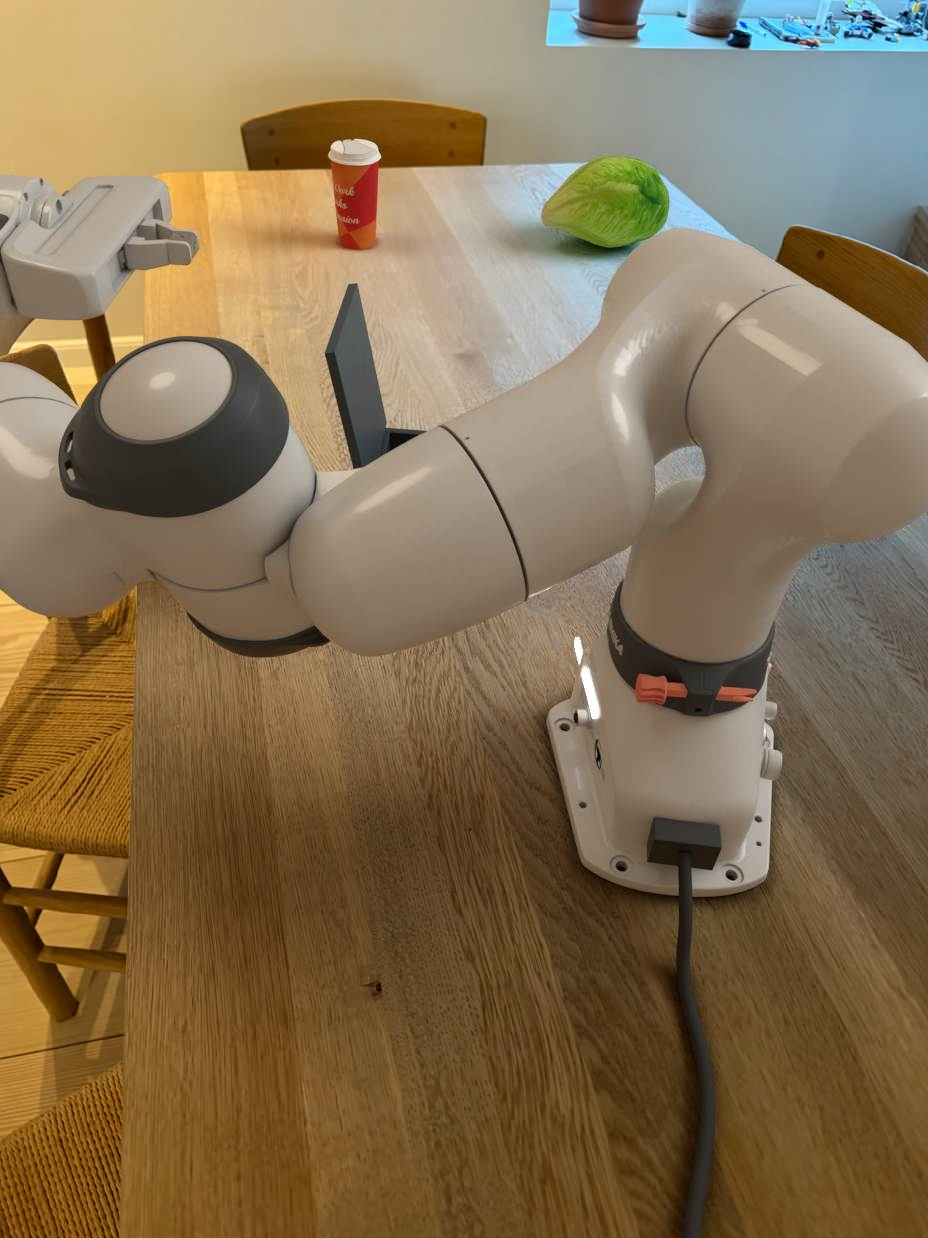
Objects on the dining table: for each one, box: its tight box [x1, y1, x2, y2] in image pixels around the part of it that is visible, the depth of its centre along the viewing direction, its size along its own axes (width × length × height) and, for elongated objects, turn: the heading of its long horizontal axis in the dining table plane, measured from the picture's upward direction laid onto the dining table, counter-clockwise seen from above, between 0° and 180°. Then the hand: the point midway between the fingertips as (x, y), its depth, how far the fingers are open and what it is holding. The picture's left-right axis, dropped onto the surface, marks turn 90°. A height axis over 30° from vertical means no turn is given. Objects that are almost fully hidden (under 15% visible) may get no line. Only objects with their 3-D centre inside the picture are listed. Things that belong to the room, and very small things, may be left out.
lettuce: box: [540, 155, 670, 249], centre depth 147 cm, size 15×20×14 cm
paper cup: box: [327, 138, 382, 250], centre depth 143 cm, size 8×8×14 cm
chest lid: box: [324, 282, 388, 469], centre depth 86 cm, size 14×13×1 cm
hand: (194, 247), depth 78 cm, fingers closed
